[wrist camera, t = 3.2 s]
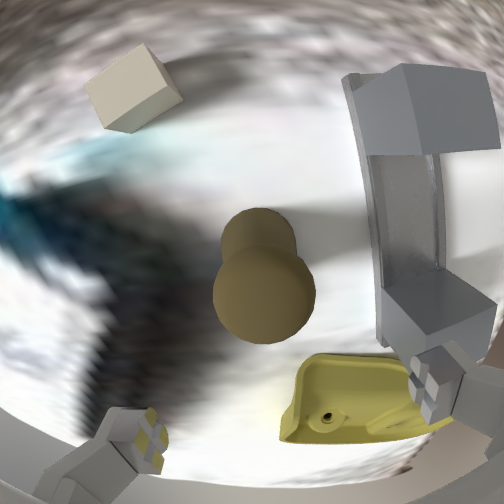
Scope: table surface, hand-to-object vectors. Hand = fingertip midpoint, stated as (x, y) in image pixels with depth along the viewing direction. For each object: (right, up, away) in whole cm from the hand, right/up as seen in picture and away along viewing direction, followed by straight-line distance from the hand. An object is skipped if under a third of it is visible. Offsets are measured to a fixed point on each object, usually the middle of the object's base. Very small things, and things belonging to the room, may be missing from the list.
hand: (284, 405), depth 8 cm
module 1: (+11, +15, +11) cm, 22 cm away
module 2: (+14, 0, +16) cm, 21 cm away
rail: (+12, +8, +15) cm, 21 cm away
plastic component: (+12, -12, +22) cm, 28 cm away
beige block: (-9, +17, +12) cm, 23 cm away
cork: (0, +5, +16) cm, 17 cm away
